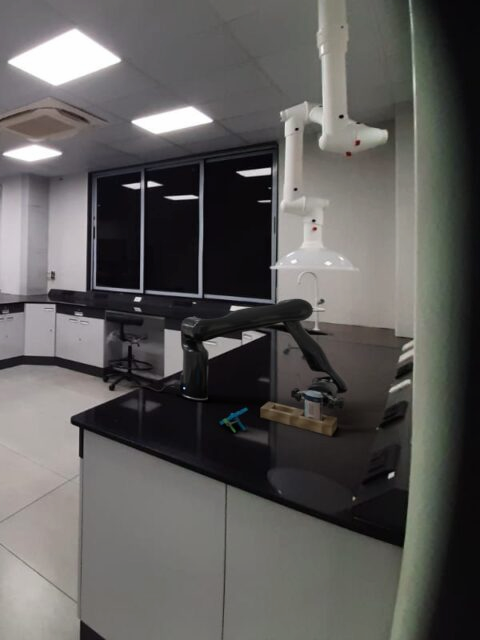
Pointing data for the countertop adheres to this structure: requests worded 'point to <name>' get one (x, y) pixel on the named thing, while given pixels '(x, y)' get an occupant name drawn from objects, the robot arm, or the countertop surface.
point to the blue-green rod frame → (235, 418)
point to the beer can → (313, 405)
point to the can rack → (298, 418)
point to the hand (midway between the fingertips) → (313, 401)
